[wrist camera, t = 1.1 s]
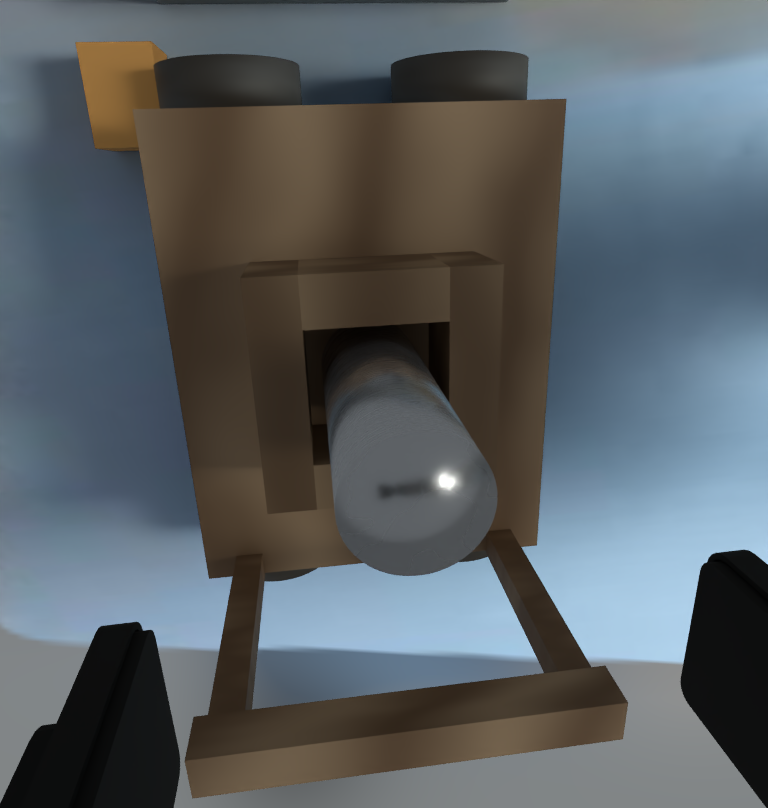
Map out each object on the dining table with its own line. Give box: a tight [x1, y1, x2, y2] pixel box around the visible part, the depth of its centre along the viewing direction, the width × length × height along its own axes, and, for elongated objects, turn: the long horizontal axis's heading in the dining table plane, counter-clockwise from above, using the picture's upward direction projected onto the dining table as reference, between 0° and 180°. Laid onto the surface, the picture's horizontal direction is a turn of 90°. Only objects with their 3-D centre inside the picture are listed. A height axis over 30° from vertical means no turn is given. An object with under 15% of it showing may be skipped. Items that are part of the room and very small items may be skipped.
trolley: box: [132, 50, 628, 798], centre depth 25 cm, size 16×24×19 cm, turn 2°
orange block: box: [75, 41, 167, 151], centre depth 27 cm, size 3×4×3 cm
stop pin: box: [322, 325, 498, 576], centre depth 20 cm, size 4×4×12 cm
